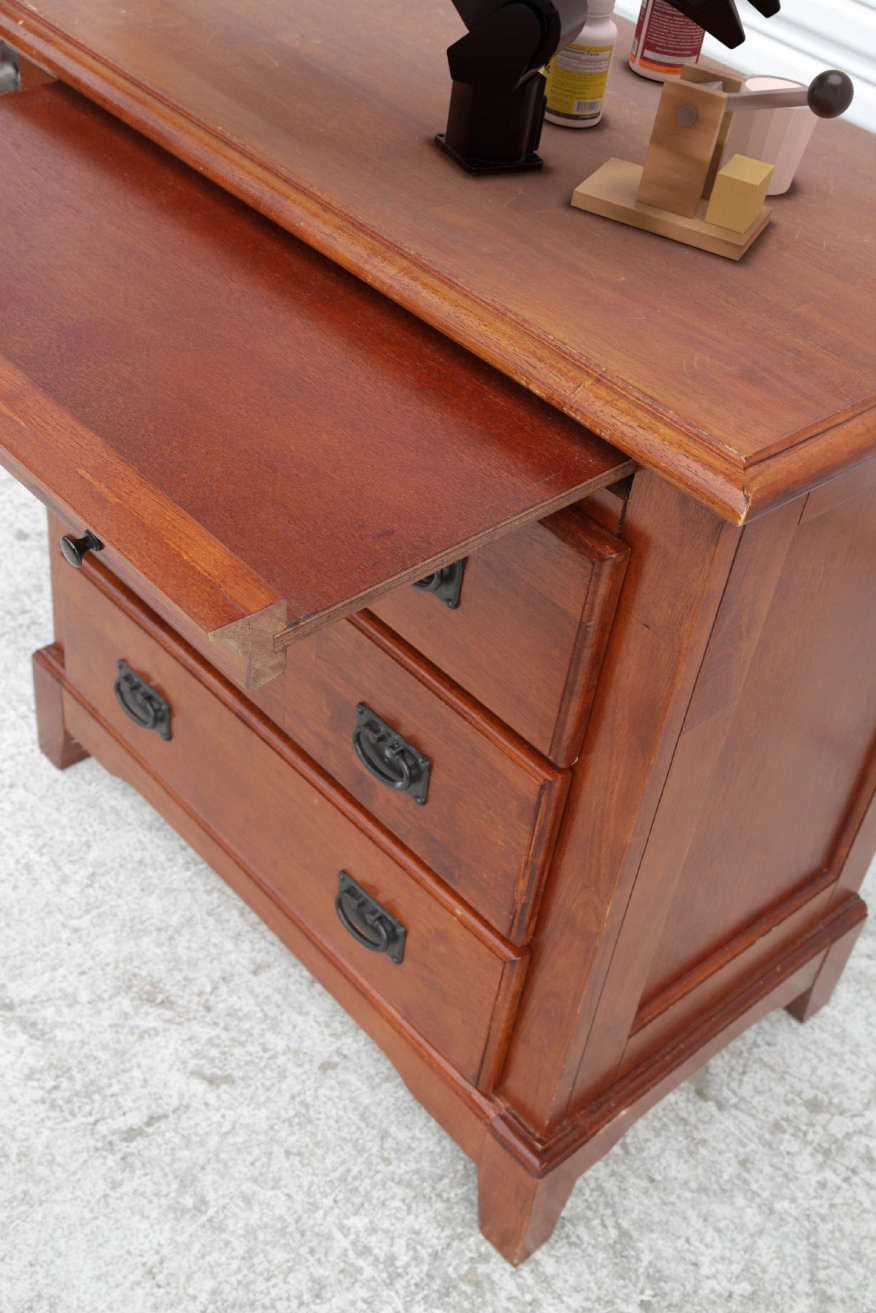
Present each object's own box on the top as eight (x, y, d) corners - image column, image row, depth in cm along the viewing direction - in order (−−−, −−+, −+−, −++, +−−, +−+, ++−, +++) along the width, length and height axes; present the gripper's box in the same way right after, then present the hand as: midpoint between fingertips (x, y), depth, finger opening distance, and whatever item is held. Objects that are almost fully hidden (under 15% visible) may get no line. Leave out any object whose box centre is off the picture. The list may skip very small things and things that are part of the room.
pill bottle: (707, 82, 118) (742, -50, 111) (657, 88, 115) (689, -47, 108) (663, 57, 122) (694, -72, 114) (613, 62, 119) (641, -70, 111)
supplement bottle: (548, 98, 110) (570, -26, 103) (608, 115, 109) (634, -10, 102) (526, 117, 106) (548, -11, 99) (588, 135, 105) (615, 7, 98)
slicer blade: (858, 110, 87) (858, 62, 85) (848, 122, 85) (848, 74, 83) (688, 122, 93) (684, 78, 91) (674, 135, 91) (671, 89, 89)
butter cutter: (768, 223, 97) (810, 89, 90) (737, 261, 91) (780, 122, 85) (609, 171, 100) (638, 39, 93) (570, 205, 94) (598, 67, 88)
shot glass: (737, 154, 106) (763, 66, 101) (811, 184, 103) (841, 95, 99) (695, 174, 102) (720, 83, 97) (771, 206, 99) (800, 114, 94)
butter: (743, 234, 92) (758, 185, 89) (703, 221, 93) (717, 172, 90) (760, 213, 95) (775, 165, 92) (721, 201, 96) (735, 153, 93)
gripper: (706, -284, 69) (836, -11, 74) (793, -304, 82) (899, -70, 87) (546, -150, 77) (674, 92, 81) (649, -187, 90) (754, 23, 94)
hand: (757, 29), depth 86 cm, fingers open, 8 cm apart
